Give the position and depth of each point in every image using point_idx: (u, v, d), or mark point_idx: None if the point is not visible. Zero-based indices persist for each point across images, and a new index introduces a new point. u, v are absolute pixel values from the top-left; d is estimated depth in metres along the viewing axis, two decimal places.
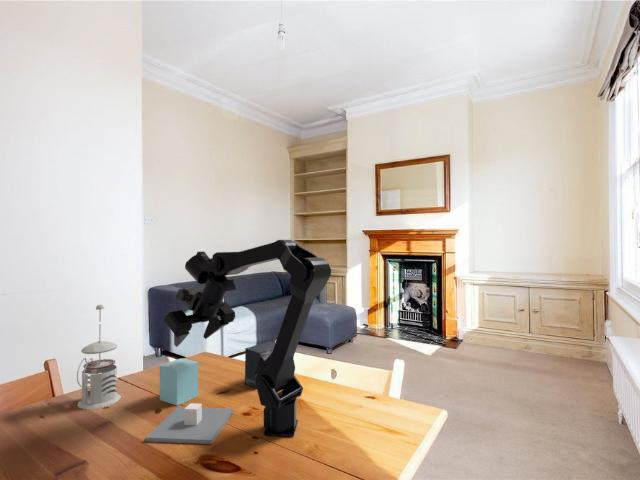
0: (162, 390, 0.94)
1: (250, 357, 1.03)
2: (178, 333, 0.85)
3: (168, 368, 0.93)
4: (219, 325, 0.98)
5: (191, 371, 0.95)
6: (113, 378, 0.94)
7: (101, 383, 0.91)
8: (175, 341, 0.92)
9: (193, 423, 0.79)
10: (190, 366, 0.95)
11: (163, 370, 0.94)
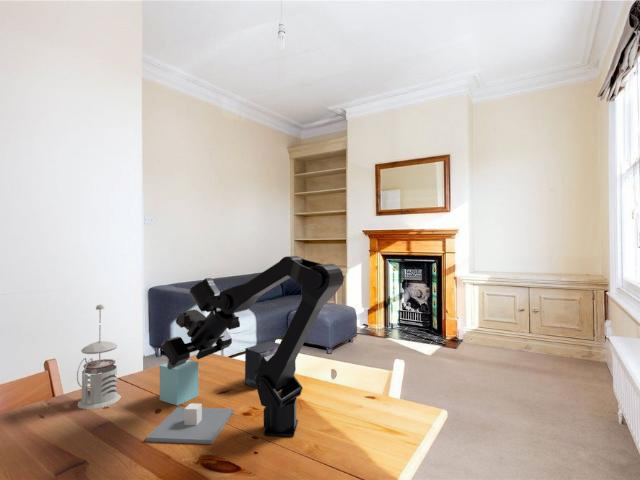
0: (162, 390, 0.94)
1: (250, 357, 1.03)
2: (175, 364, 0.84)
3: None
4: (214, 350, 0.96)
5: (191, 371, 0.95)
6: (113, 378, 0.94)
7: (101, 383, 0.91)
8: (168, 364, 0.90)
9: (193, 423, 0.79)
10: (190, 366, 0.95)
11: (163, 370, 0.94)
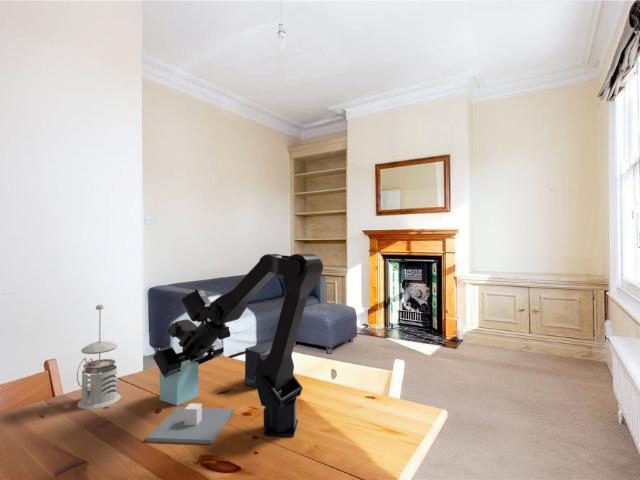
0: (162, 389, 0.94)
1: (250, 357, 1.03)
2: (166, 374, 0.85)
3: None
4: (203, 360, 0.97)
5: (191, 371, 0.95)
6: (113, 378, 0.94)
7: (101, 383, 0.91)
8: None
9: (193, 423, 0.79)
10: (190, 365, 0.95)
11: None
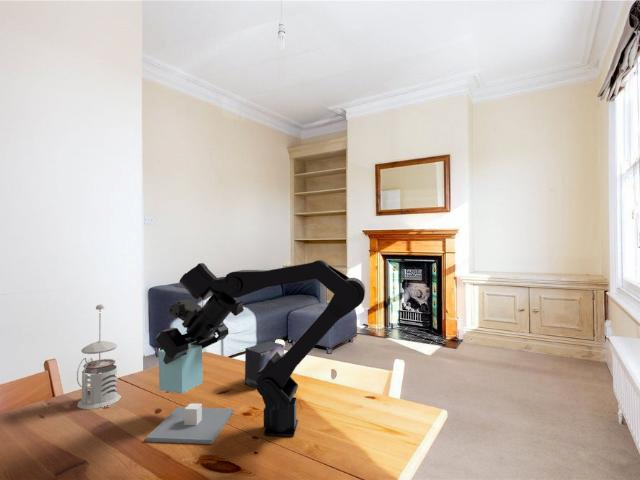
0: (163, 378, 0.83)
1: (250, 357, 1.03)
2: (173, 357, 0.76)
3: None
4: (207, 343, 0.88)
5: (195, 355, 0.86)
6: (113, 378, 0.94)
7: (101, 383, 0.91)
8: (165, 358, 0.82)
9: (193, 423, 0.79)
10: (194, 349, 0.85)
11: (163, 356, 0.83)
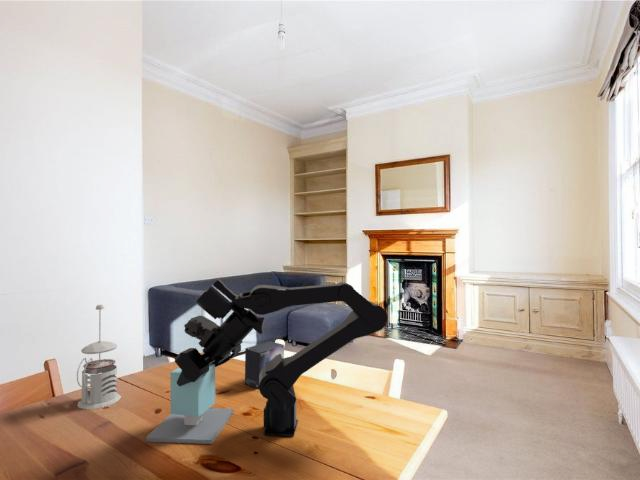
0: (175, 401, 0.78)
1: (250, 357, 1.03)
2: (195, 380, 0.71)
3: None
4: (221, 362, 0.84)
5: (209, 375, 0.81)
6: (113, 378, 0.94)
7: (101, 383, 0.91)
8: (180, 380, 0.77)
9: (193, 423, 0.79)
10: None
11: (176, 377, 0.78)
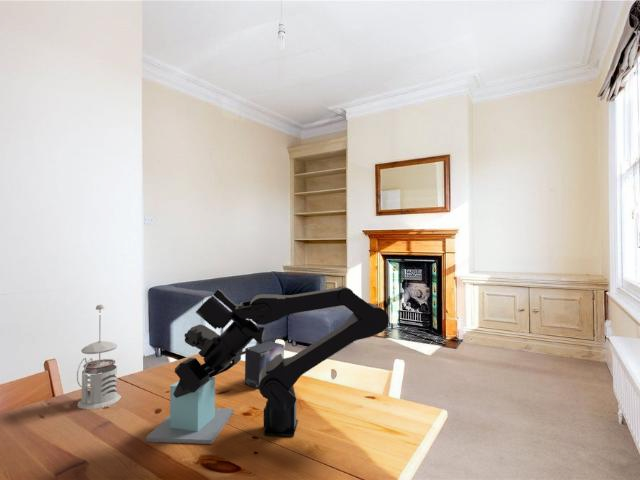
0: (175, 415, 0.78)
1: (250, 357, 1.03)
2: (195, 391, 0.71)
3: None
4: (223, 369, 0.85)
5: (209, 389, 0.81)
6: (113, 378, 0.94)
7: (101, 383, 0.91)
8: (176, 391, 0.76)
9: None
10: (208, 383, 0.81)
11: None
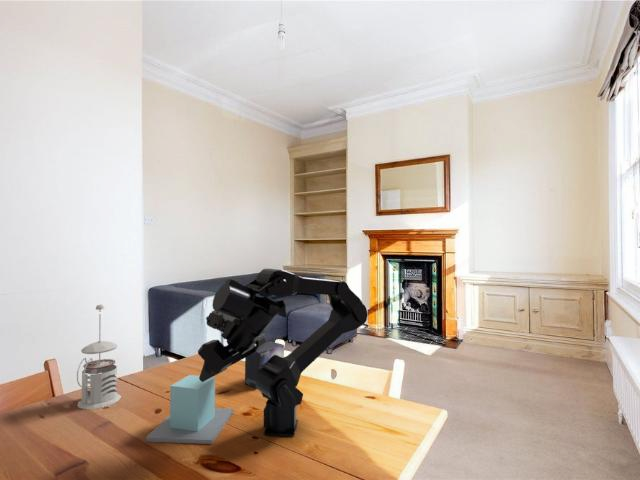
0: (175, 415, 0.78)
1: (250, 357, 1.03)
2: (219, 371, 0.70)
3: (184, 388, 0.78)
4: (248, 353, 0.83)
5: (209, 389, 0.81)
6: (113, 378, 0.94)
7: (101, 383, 0.91)
8: (202, 375, 0.75)
9: None
10: (208, 383, 0.81)
11: (176, 391, 0.78)
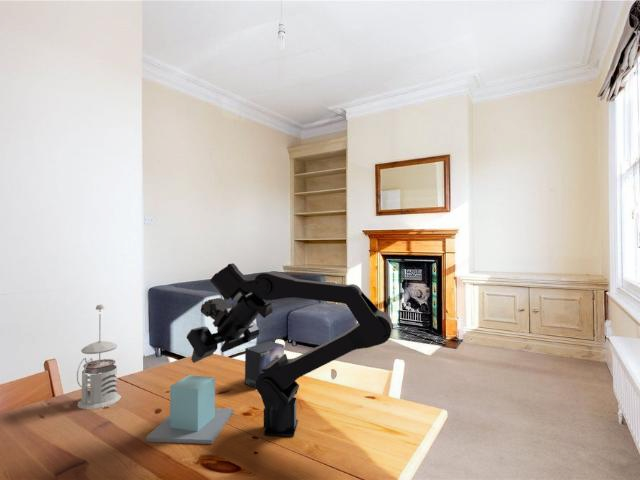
0: (175, 415, 0.78)
1: (250, 357, 1.03)
2: (202, 356, 0.76)
3: (184, 388, 0.78)
4: (241, 342, 0.89)
5: (209, 389, 0.81)
6: (113, 378, 0.94)
7: (101, 383, 0.91)
8: (193, 357, 0.83)
9: None
10: (208, 383, 0.81)
11: (176, 391, 0.78)
